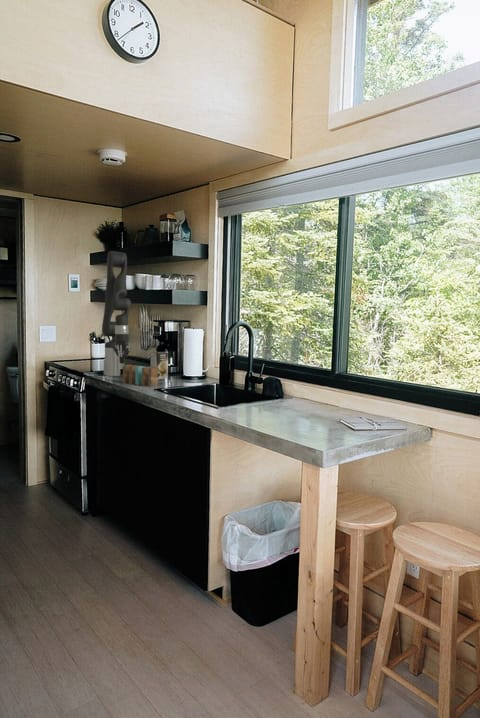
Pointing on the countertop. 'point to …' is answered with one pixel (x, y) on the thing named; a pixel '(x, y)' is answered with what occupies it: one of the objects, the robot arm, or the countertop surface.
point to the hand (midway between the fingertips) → (122, 363)
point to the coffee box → (160, 363)
